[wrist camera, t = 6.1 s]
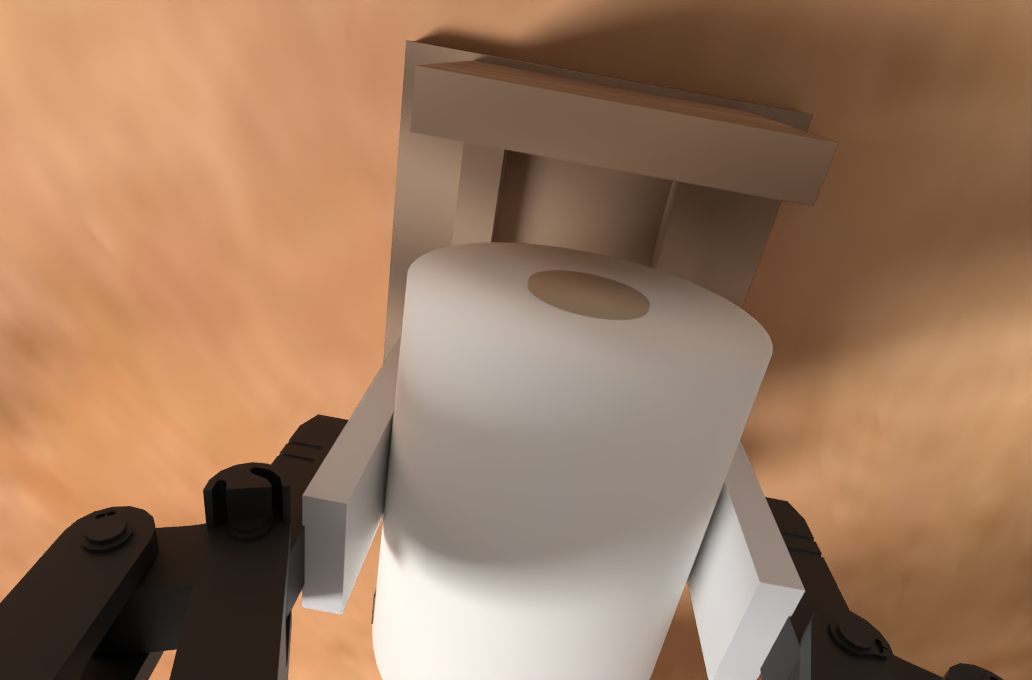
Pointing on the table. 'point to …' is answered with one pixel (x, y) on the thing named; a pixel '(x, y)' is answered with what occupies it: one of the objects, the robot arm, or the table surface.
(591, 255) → the cylinder
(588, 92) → the holder
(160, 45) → the table surface
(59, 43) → the table surface
